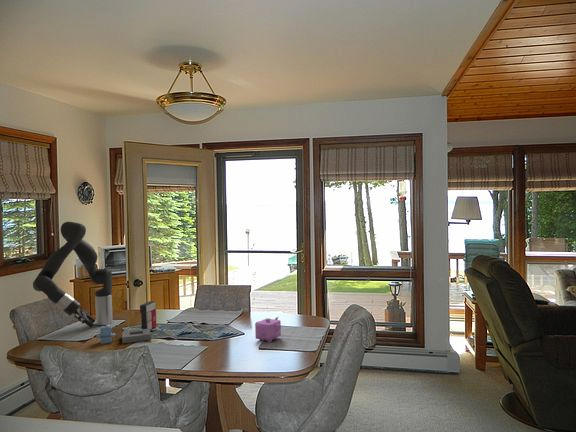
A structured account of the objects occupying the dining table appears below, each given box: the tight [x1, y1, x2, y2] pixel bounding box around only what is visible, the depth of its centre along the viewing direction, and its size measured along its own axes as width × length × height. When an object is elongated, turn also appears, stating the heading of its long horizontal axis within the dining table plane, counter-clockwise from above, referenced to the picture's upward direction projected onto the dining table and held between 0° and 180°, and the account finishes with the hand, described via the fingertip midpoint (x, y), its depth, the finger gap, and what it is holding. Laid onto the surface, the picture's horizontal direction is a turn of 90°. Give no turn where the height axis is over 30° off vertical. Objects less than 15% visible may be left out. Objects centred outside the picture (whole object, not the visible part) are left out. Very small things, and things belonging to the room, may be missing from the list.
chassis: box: [121, 328, 152, 344], centre depth 238 cm, size 12×14×3 cm
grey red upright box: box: [139, 300, 157, 330], centre depth 255 cm, size 11×4×15 cm, turn 168°
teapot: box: [254, 316, 282, 343], centre depth 230 cm, size 15×13×11 cm
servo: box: [95, 324, 116, 345], centre depth 233 cm, size 4×9×9 cm, turn 109°
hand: (93, 324), depth 231 cm, fingers open, 8 cm apart
